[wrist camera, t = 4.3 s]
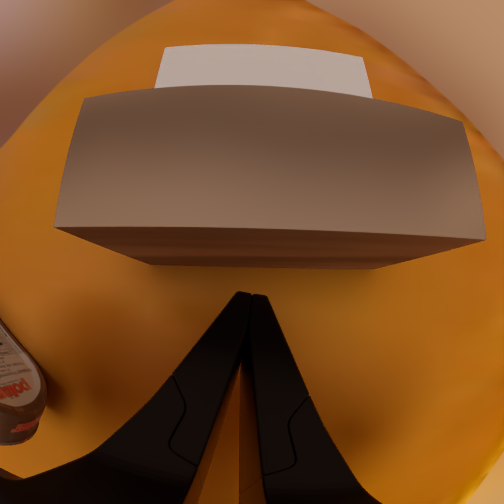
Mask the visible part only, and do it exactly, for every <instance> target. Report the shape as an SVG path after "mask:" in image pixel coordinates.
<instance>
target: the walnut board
mask: <svg viewBox="0 0 504 504" xmlns="http://www.w3.org/2000/svg"><path fill="white" fill-rule="evenodd" d="M54 227H55V228H57V229H60V230H62V231H65V232H67V233H70V234H72V235H75V236H77V237H80V238H82V239H85V240H87V241H90V242H92V243H95V244H97V245H100V246H102V247H105V248H108V249H110V250H113V251H115V252H118V253H121V254H123V255H126V256H129V257H131V258H134V259H137V260H139V261H142V262H145V263H147V264H151V265H181V266H216V267H258V268H315V269H375V268H380V267H384V266H388V265H392V264H396V263H400V262H405V261H409V260H413V259H417V258H421V257H424V256H428V255H432V254H436V253H440V252H444V251H447V250H451V249H455V248H459V247H462V246H466V245H469V244H473V243H477V242H480V241H484V240H486V232H485V224H484V216H483V210H482V203H481V197H480V192H479V186H478V181H477V176H476V172H475V167H474V163H473V159H472V155H471V151H470V147H469V143H468V140H467V136H466V133H465V129H464V126H463V123H462V122H461V121H458V120H455V119H452V118H449V117H445V116H442V115H439V114H435V113H432V112H428V111H425V110H421V109H417V108H413V107H409V106H405V105H401V104H396V103H392V102H387V101H383V100H378V99H372V98H367V97H362V96H356V95H350V94H343V93H336V92H329V91H321V90H313V89H303V88H292V87H278V86H260V85H195V86H176V87H163V88H152V89H142V90H134V91H126V92H119V93H112V94H106V95H100V96H95V97H89V98H84V101H83V104H82V107H81V110H80V113H79V116H78V119H77V123H76V126H75V129H74V133H73V136H72V140H71V144H70V148H69V151H68V155H67V160H66V164H65V168H64V173H63V177H62V182H61V187H60V192H59V198H58V204H57V210H56V216H55V223H54Z"/></svg>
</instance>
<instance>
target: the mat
mask: <svg viewBox="0 0 504 504" xmlns="http://www.w3.org/2000/svg"><path fill="white" fill-rule="evenodd" d="M195 85H260V86H278V87H292V88H303V89H313V90H321V91H329V92H336V93H343V94H350V95H356V96H362V97H367V98H372V99H373V97H372V93H371V89H370V84H369V80H368V76H367V73H366V69H365V65H364V61H363V58H362V57H358V56H353V55H347V54H342V53H336V52H329V51H322V50H315V49H307V48H298V47H287V46H274V45H253V44H211V45H190V46H177V47H166V48H165V51H164V54H163V58H162V61H161V65H160V69H159V72H158V76H157V80H156V84H155V88H163V87H176V86H195Z"/></svg>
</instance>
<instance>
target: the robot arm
mask: <svg viewBox="0 0 504 504" xmlns="http://www.w3.org/2000/svg"><path fill="white" fill-rule="evenodd" d="M240 363H241V369H240V432H239V495H240V496H239V504H382V503H380V502H379V501H378V500H376V499H375V498H374V497H372V496H371V495H370V494H369V493H368V492H367V491H366V490H365V489H364V488H363V487H362V486H361V484H360V483H359V482H358V481H357V479H356V478H355V476H354V474H353V473H352V471H351V470H350V468H349V466H348V465H347V463H346V462H345V460H344V458H343V457H342V455H341V454H340V452H339V450H338V449H337V447H336V445H335V444H334V442H333V440H332V439H331V437H330V435H329V433H328V432H327V430H326V428H325V426H324V425H323V422H322V420H321V418H320V416H319V414H318V412H317V410H316V408H315V406H314V403H313V401H312V399H311V397H310V396H308V395H309V392H308V390H307V387H306V385H305V383H304V380H303V378H302V376H301V374H300V371H299V369H298V367H297V364H296V362H295V360H294V357H293V355H292V353H291V350H290V348H289V346H288V343H287V341H286V339H285V337H284V334H283V332H282V330H281V327H280V325H279V323H278V320H277V318H276V316H275V313H274V311H273V309H272V306H271V304H270V302H269V299H268V297H267V296H265V295H259V294H253V295H251V293H247V292H241V291H238V292H236V293H235V295H234V296H233V297H232V299H231V300H230V301H229V302H228V304H227V305H226V306H225V307H224V309H223V310H222V311H221V313H220V314H219V315H218V316H217V318H216V319H215V320H214V321H213V323H212V324H211V325H210V327H209V328H208V329H207V330H206V332H205V333H204V334H203V335H202V337H201V338H200V339H199V340H198V342H197V343H196V344H195V345H194V347H193V348H192V349H191V350H190V352H189V353H188V354H187V355H186V357H185V358H184V359H183V360H182V362H181V363H180V364H179V366H178V367H177V368H176V369H175V370H174V372H173V373H172V375H171V376H170V377H169V378H168V379H167V380H166V381H165V383H164V384H163V385H162V386H161V388H160V389H159V390H158V391H157V392H156V393H155V394H154V396H153V397H152V398H151V399H150V400H149V401H148V402H147V403H146V404H145V405H144V406H143V407H142V408H141V409H140V410H139V411H138V412H137V413H136V414H135V415H134V416H133V417H132V418H130V419H129V420H128V421H127V422H126V423H125V424H124V425H123V426H122V427H121V428H120V429H118V430H117V431H116V432H115V433H114V434H113V435H112V436H111V437H110V438H108V439H107V440H106V441H105V442H104V443H103V444H101V445H100V446H99V447H98V448H96V449H95V450H93V451H92V452H90V453H89V454H87V455H85V456H83V457H81V458H78V459H76V460H73V461H71V462H69V463H66V464H64V465H61V466H59V467H56V468H53V469H51V470H48V471H45V472H43V473H40V474H37V475H34V476H31V477H28V478H25V479H23V478H20V477H18V476H16V475H14V474H12V473H10V472H8V471H6V470H4V469H2V468H0V504H197V503H198V500H199V497H200V494H201V489H202V488H203V485H204V482H205V478H206V475H207V472H208V469H209V466H210V463H211V460H212V456H213V453H214V450H215V447H216V444H217V440H218V437H219V434H220V431H221V428H222V424H223V421H224V418H225V415H226V411H227V408H228V405H229V401H230V398H231V395H232V391H233V388H234V385H235V381H236V378H237V375H238V371H239V367H240Z"/></svg>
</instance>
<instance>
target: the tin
mask: <svg viewBox="0 0 504 504" xmlns="http://www.w3.org/2000/svg"><path fill="white" fill-rule="evenodd" d="M46 402H47V386H46V382H45V379H44V376H43V374H42V372H41V370H40V369H39V367H38V365H37V364H36V362H35V361H34V360H33V359H32V357H31V356H30V355H29V354H28V353H27V352H26V350H25V349H24V348H23V347H22V346H21V345H20V344H19V342H18V341H17V340H16V339H15V338H14V336H13V335H12V334H11V333H10V332H9V330H8V329H7V328H6V327H5V325H4V324H3V323H2V322H1V320H0V445H16V444H21V443H23V442H25V441H27V440H29V439H30V438H31V437H32V436H33V435H34V434H35V432H36V431H37V428H38V425H39V419H40V417H41V415H42V413H43V411H44V408H45V405H46Z"/></svg>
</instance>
